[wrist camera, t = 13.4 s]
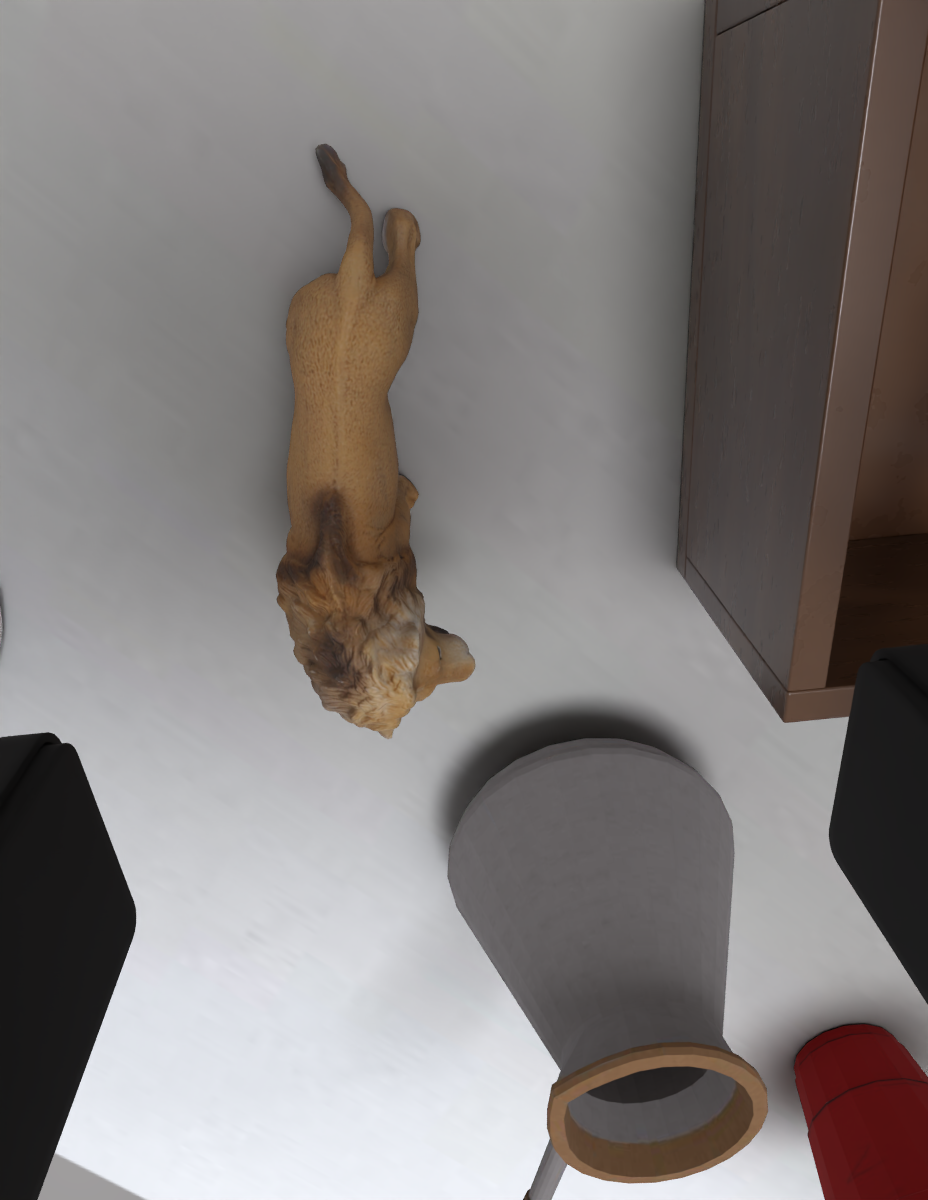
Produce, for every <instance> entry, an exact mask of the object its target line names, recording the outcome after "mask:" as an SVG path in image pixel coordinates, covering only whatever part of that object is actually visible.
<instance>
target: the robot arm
mask: <svg viewBox="0 0 928 1200" xmlns="http://www.w3.org/2000/svg"><path fill="white" fill-rule="evenodd" d="M2 629H3V625H2V617H1V608H0V645H1V637H2ZM829 841H830V846H831V850H832V853H833V855H834V858H835V860H836V862H837V863H838V865H839V866H840V868H841V870H842V871H843V873H844V874H845V876H846V877H847V879H848V881H849V882H850V884H851V885H852V887H853V888H854V890H855V892H856V893H857V895H858V896H859V898H860V899H861V901H862V902H863V904H864V906H865V907H866V909H867V910H868V912H869V913H870V915H871V917H872V918H873V920H874V921H875V923H876V924H877V926H878V927H879V929H880V931H881V932H882V934H883V935H884V937H885V938H886V940H887V942H888V943H889V945H890V946H891V948H892V949H893V951H894V952H895V954H896V956H897V957H898V959H899V960H900V962H901V963H902V965H903V967H904V968H905V970H906V971H907V973H908V974H909V976H910V978H911V979H912V981H913V982H914V984H915V985H916V987H917V988H918V990H919V992H920V993H921V995H922V996H923V998H924V999H925V1001H926V1003H927V1004H928V644H921V645H911V646H901V647H891V648H881V649H879V650H877V651H875V653H874V654H873V655H872V657H871V660H870V662H865V663H863V664H862V665H861V666H860V667H859V670H858V673H857V677H856V683H855V688H854V694H853V699H852V705H851V711H850V716H849V722H848V727H847V733H846V738H845V744H844V749H843V755H842V761H841V766H840V772H839V777H838V783H837V788H836V794H835V799H834V805H833V811H832V816H831V822H830V827H829ZM135 927H136V908H135V904H134V901H133V898H132V896H131V893H130V890H129V888H128V885H127V882H126V880H125V877H124V875H123V872H122V869H121V867H120V864H119V861H118V859H117V856H116V853H115V851H114V848H113V846H112V843H111V840H110V838H109V835H108V832H107V830H106V827H105V824H104V822H103V819H102V817H101V814H100V811H99V809H98V806H97V803H96V801H95V798H94V795H93V793H92V790H91V788H90V785H89V782H88V780H87V777H86V774H85V772H84V769H83V766H82V764H81V761H80V759H79V756H78V753H77V751H76V749H75V748H74V747H73V746H72V745H71V744H69V743H61V741H60V740H59V738H58V737H57V736H56V735H55V734H52V733H49V732H48V733H38V734H28V735H18V736H8V737H1V738H0V1200H37V1199H38V1197H39V1194H40V1191H41V1188H42V1186H43V1182H44V1180H45V1177H46V1174H47V1172H48V1169H49V1166H50V1163H51V1161H52V1158H53V1155H54V1153H55V1150H56V1147H57V1145H58V1142H59V1139H60V1136H61V1134H62V1131H63V1128H64V1125H65V1123H66V1120H67V1117H68V1114H69V1112H70V1109H71V1106H72V1103H73V1101H74V1098H75V1095H76V1093H77V1090H78V1087H79V1084H80V1082H81V1079H82V1076H83V1073H84V1071H85V1068H86V1065H87V1062H88V1060H89V1057H90V1054H91V1051H92V1049H93V1046H94V1043H95V1041H96V1038H97V1035H98V1032H99V1030H100V1027H101V1024H102V1021H103V1019H104V1016H105V1013H106V1010H107V1008H108V1005H109V1002H110V999H111V997H112V994H113V991H114V989H115V986H116V983H117V980H118V978H119V975H120V972H121V969H122V967H123V964H124V961H125V958H126V956H127V953H128V950H129V947H130V945H131V942H132V939H133V936H134V932H135Z"/></svg>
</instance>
